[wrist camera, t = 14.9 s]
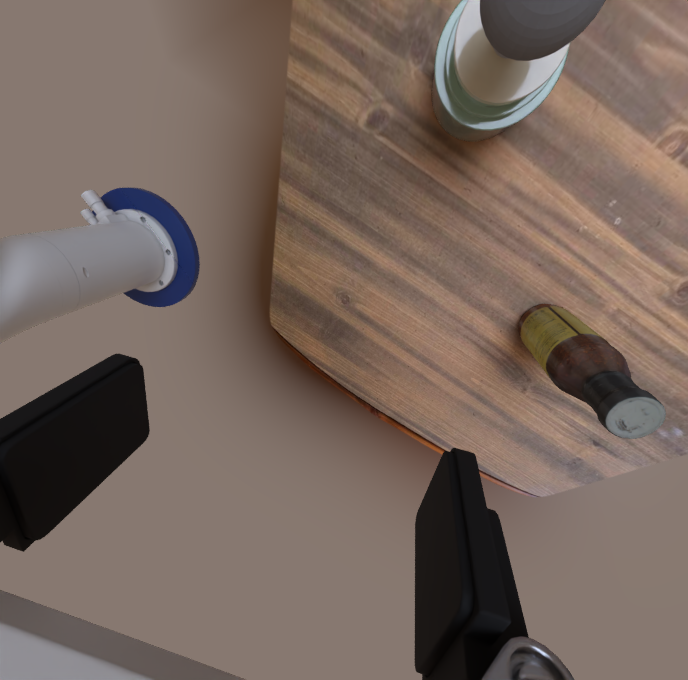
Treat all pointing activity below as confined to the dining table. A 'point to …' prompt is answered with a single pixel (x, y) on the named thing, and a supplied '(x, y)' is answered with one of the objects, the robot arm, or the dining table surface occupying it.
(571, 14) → the light bulb
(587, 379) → the sauce bottle
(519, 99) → the green lidded jar
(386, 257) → the dining table surface
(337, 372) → the dining table surface
